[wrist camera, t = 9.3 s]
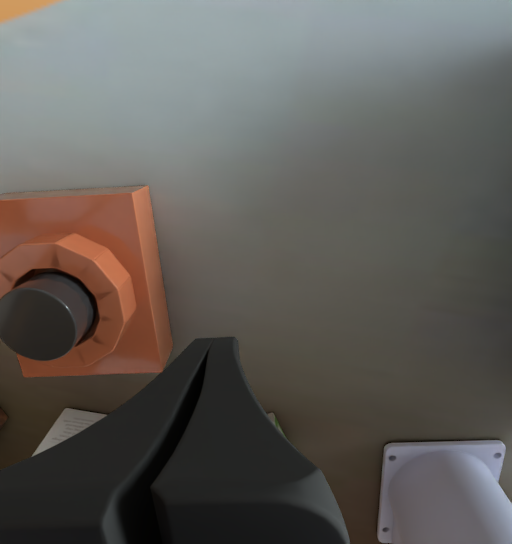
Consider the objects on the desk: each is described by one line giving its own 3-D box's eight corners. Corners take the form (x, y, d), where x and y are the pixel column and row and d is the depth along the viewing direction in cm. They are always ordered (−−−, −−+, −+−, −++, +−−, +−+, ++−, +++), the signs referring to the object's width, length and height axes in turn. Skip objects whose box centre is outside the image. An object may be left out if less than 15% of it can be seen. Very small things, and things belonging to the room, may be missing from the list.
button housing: (173, 346, 24) (153, 394, 19) (48, 351, 24) (3, 398, 20) (148, 184, 20) (118, 199, 16) (3, 193, 20) (-65, 209, 16)
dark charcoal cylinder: (103, 336, 19) (84, 360, 17) (32, 339, 19) (6, 363, 17) (87, 269, 18) (66, 286, 16) (12, 272, 18) (-19, 289, 16)
